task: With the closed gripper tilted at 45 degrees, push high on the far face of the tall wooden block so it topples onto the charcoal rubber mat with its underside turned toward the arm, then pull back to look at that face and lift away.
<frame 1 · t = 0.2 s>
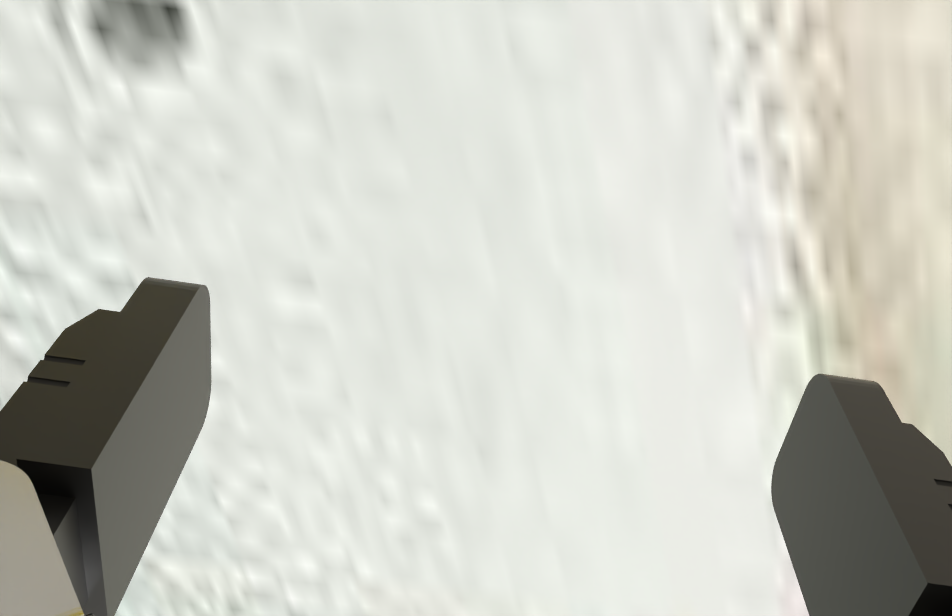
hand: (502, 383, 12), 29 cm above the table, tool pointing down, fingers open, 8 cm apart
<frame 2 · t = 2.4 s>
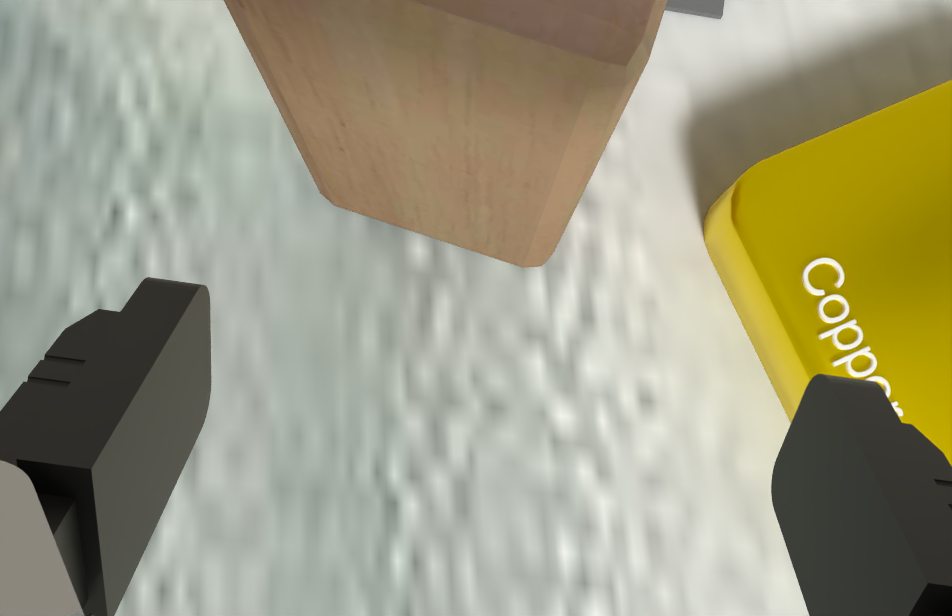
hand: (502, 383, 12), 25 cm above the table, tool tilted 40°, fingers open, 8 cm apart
wooden block: (467, 134, 39), on the table
yellow labelled tile: (917, 302, 38), on the table
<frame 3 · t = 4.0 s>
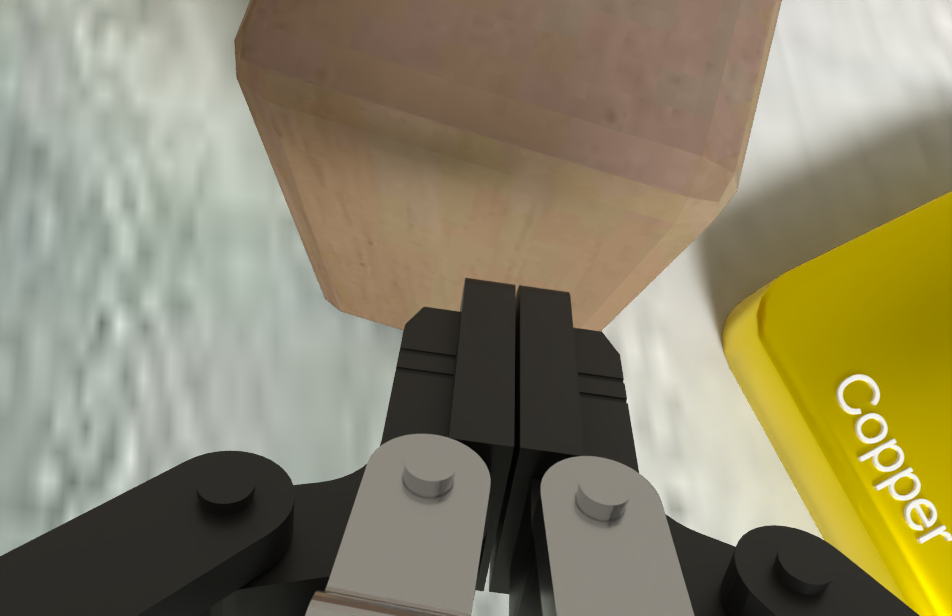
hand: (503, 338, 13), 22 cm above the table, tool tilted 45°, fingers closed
wooden block: (475, 231, 37), on the table
yellow labelled tile: (944, 407, 37), on the table
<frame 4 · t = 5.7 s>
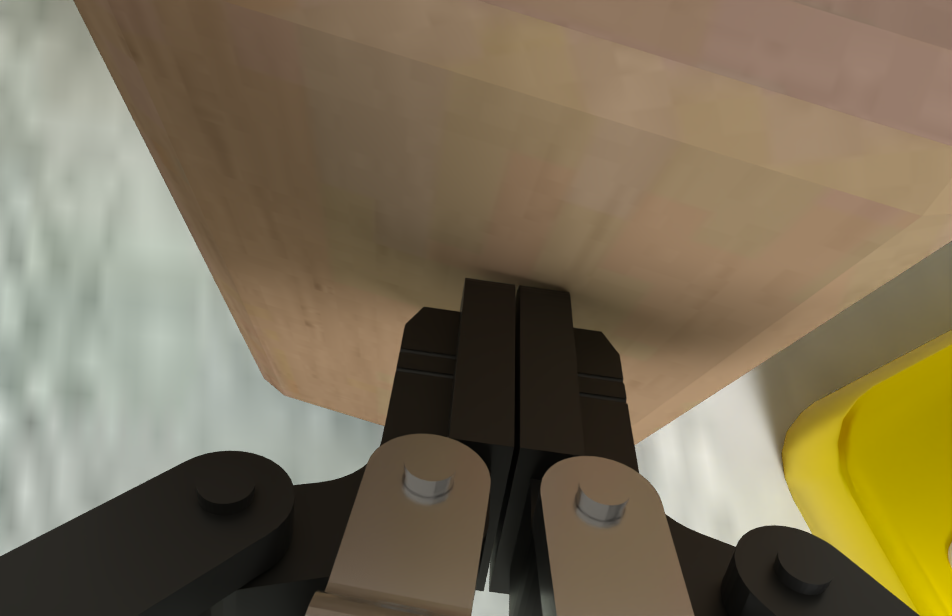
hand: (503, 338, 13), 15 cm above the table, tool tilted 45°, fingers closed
wooden block: (467, 290, 28), on the table
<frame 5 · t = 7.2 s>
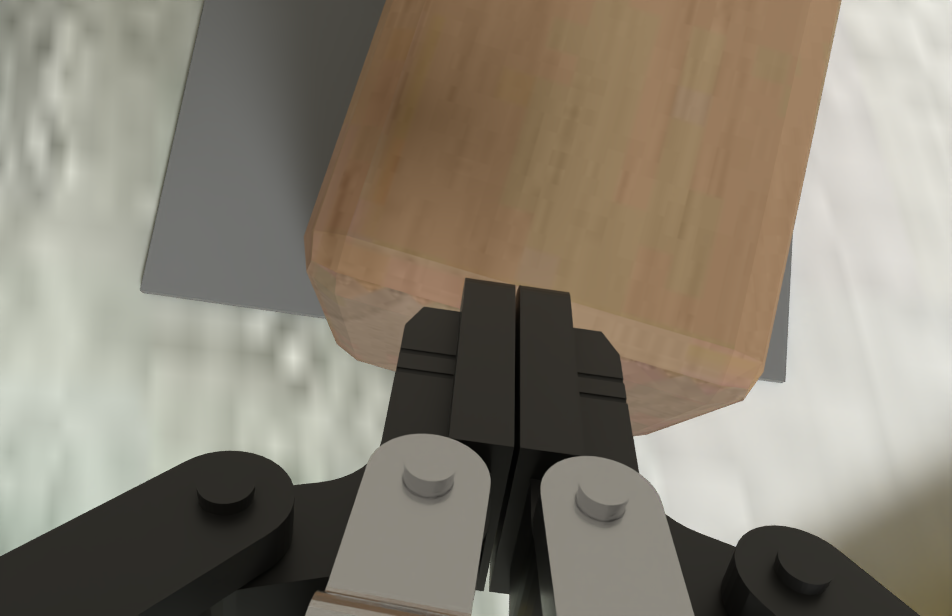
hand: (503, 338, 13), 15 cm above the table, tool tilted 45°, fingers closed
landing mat: (501, 75, 30), on the table
wooden block: (500, 386, 23), point 5 cm above the table, touching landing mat
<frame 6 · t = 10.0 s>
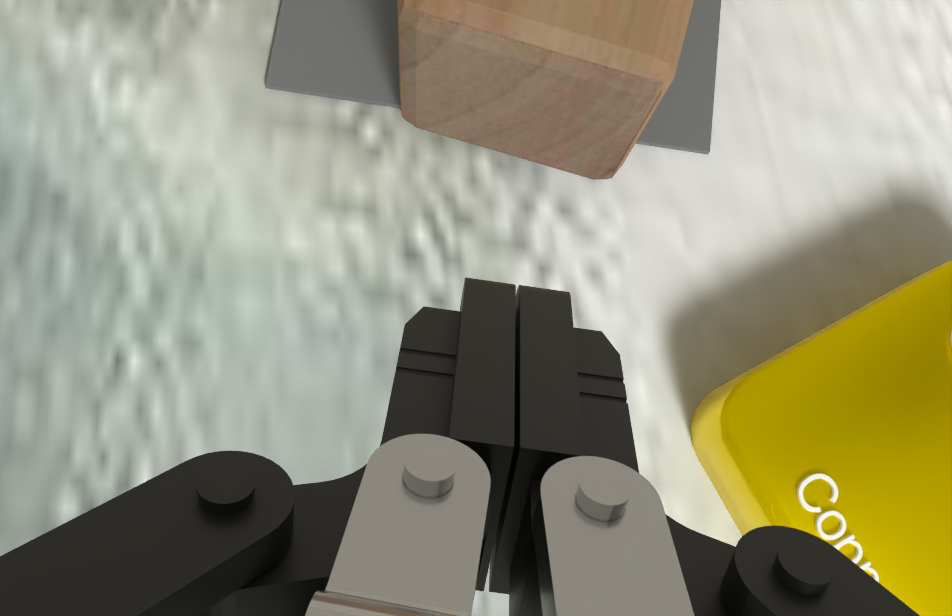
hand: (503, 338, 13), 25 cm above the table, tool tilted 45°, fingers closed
wooden block: (514, 117, 35), point 5 cm above the table, touching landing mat
yellow labelled tile: (903, 487, 39), on the table
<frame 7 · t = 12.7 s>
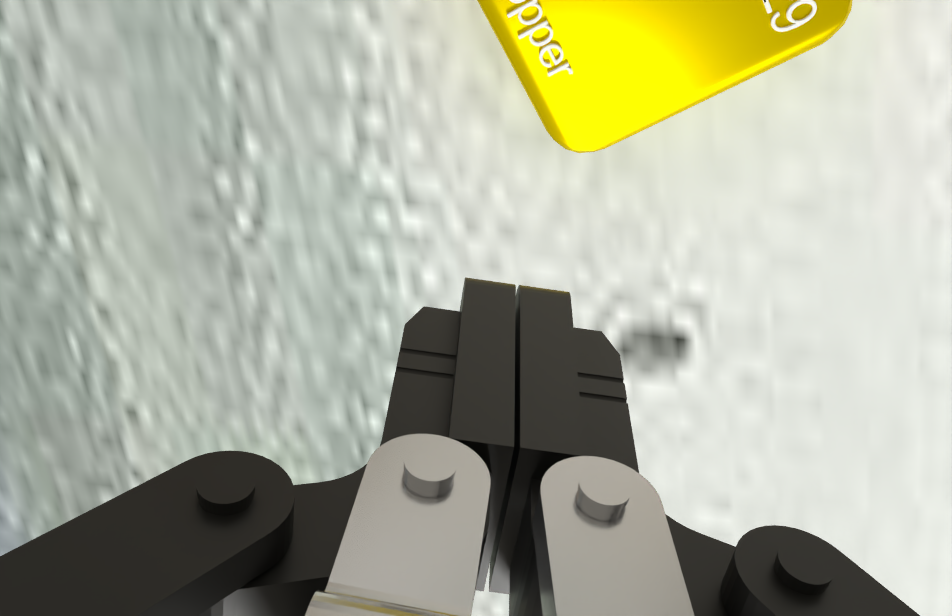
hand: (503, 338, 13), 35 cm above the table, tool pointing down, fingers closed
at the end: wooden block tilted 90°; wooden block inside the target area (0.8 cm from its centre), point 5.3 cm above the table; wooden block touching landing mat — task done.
